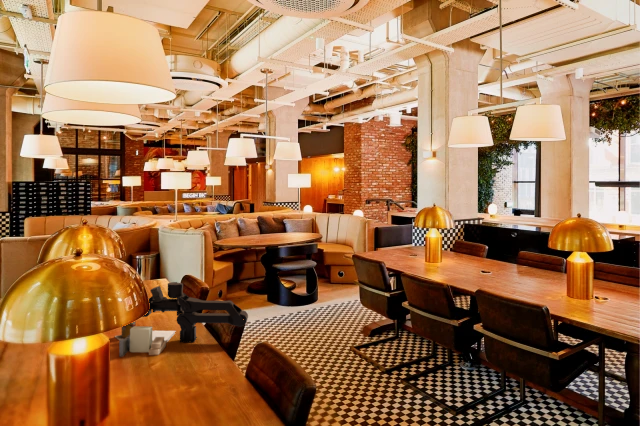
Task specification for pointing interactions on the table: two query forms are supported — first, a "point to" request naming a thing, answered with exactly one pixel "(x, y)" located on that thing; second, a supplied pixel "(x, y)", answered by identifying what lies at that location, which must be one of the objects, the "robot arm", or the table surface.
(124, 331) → the condiment
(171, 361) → the table surface
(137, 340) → the grey upright block
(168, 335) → the mat
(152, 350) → the offcut stack
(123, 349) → the rack
